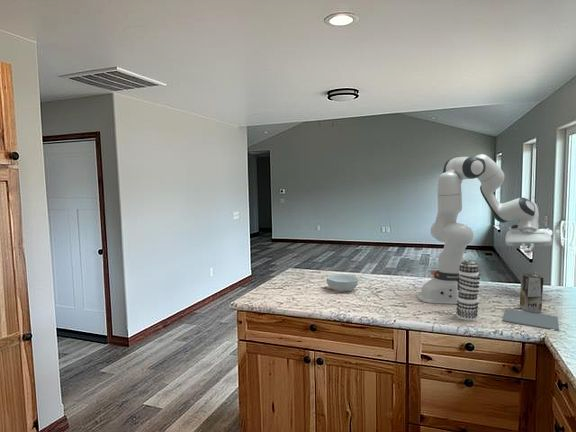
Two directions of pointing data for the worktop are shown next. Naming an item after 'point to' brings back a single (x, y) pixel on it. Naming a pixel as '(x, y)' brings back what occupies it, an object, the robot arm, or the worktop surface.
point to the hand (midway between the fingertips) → (527, 252)
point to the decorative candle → (468, 290)
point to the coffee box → (531, 292)
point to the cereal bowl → (342, 282)
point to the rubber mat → (531, 319)
